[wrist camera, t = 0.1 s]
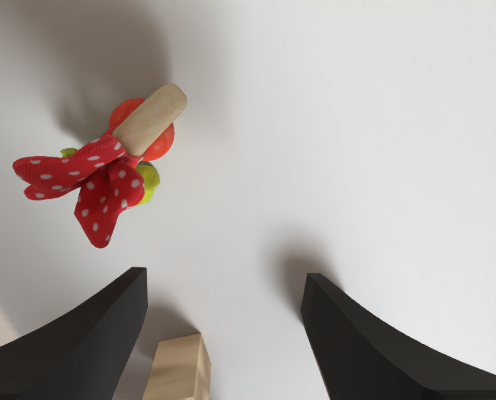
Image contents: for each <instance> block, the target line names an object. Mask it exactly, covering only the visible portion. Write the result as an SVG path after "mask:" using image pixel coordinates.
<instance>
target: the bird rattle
mask: <svg viewBox="0 0 496 400" xmlns="http://www.w3.org/2000/svg"><path fill="white" fill-rule="evenodd" d="M186 104H187V97H186V95H185V94H184V93H183V91H182V90H181V89H180V88H179V87H178V86H177V85H175V84H173V83H167V84H165V85H163V86H162V87H160V88H159V89H158V90H157V91H156V92H154V93H153V94H152V95H151V96H150V97H149V98H147V99H142V98H135V99H130V100H127V101H125V102H123V103H122V104H120V105H119V106H118V107H117V108H116V109H115V110H114V111H113V113H112V115H111V118H110V122H109V130H107V131H106V132H105V133H104V134H103V135H102V137H101V138H98V139H95V140H93V141H91V142H89V143H88V144H86V145H85V146H83V147H82V148H81V149H79V150H77V149H75V148H68V149H63V150H61V153H62V155H63V157H62V158H59V157H46V156H33V157H25V158H20V159H18V160H16V161H15V162H13V169H14V171H15V173H16V175H17V176H18V177H19V178H21V179H22V180H24V181H26V182H28V183H29V184H31V185H30V186H29V187H27V188H26V189H25V190H24V194H25V195H26V197H27V198H28V199H31V200H45V199H53V198H58V197H61V196H63V195H65V194H67V193H69V192H71V191H73V190H75V189H77V188H79V187H81V190H80V193H79V196H78V201H77V204H76V208H75V211H74V215H75V216H76V218H77V220H78V221H79V223H80V224H81V226H82V228H83V230H84V232H85V234H86V235H87V237H88V239H89V240H90V242H91V244H92V245H94V246H95V247H97V248H104V247H106V246H107V245H108V244H109V241H110V239H111V235H112V233H113V230H114V227H115V225H116V221H117V218H118V215H119V214H120V213H121V212H122V211H124V210H126V209H129V208H132V207H134V206H137V205H141V204H143V203H146V202H148V201H149V200H150V199H151V197H152V194H153V191H154V189H155V188H156V187H157V186H158V185H159V183H160V178H159V175H158V173H157V172H156V170H155V169H154V168H153V167H152V166H149V165H138V163H139V162H140V161H151V160H155V159H158V158H160V157H162V156H163V155H164V154H165V153H167V151H168V150H169V149H170V147H171V145H172V143H173V140H174V126H173V121H174V120H175V119H176V118H177V117H178V115H179V114H180V113H181V112H182V111H183V109H184V108H185V107H186Z"/></svg>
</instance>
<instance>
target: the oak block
mask: <svg viewBox="0 0 496 400" xmlns="http://www.w3.org/2000/svg"><path fill="white" fill-rule="evenodd" d="M210 372H211V363H210V359H209V356H208V353H207V350H206V347H205V344H204V341H203V338H202V335H201V333H198V334H194V335H189V336H184V337H180V338H175V339H170V340H165V341H161V342H159V344H158V347H157V351H156V354H155V357H154V361H153V364H152V368H151V371H150V375H149V378H148V381H147V385H146V388H145V392H144V395H143V399H142V400H209V388H210Z"/></svg>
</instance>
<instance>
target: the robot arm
mask: <svg viewBox="0 0 496 400" xmlns="http://www.w3.org/2000/svg"><path fill="white" fill-rule="evenodd" d="M147 308H148V297H147V268H144V267H132V268H130V269H129V270H127V271H126V272H125V273H123V274H122V275H121V276H119V277H118V278H117V279H115V280H114V281H113V282H112V283H110V284H109V285H107V286H106V287H105V288H103V289H102V290H101V291H99V292H98V293H97V294H95V295H94V296H92V297H91V298H89V299H88V300H86V301H85V302H83V303H82V304H80V305H79V306H77V307H76V308H74V309H73V310H71V311H69V312H68V313H66V314H64V315H63V316H61V317H59V318H57V319H56V320H54V321H52V322H50V323H48V324H47V325H45V326H43V327H41V328H39V329H37V330H35V331H33V332H31V333H29V334H26V335H24V336H22V337H20V338H18V339H16V340H14V341H12V342H10V343H8V344H5V345H3V346H1V347H0V400H112V397H113V394H114V391H115V389H116V386H117V384H118V381H119V379H120V377H121V374H122V372H123V370H124V367H125V365H126V363H127V361H128V358H129V356H130V354H131V351H132V349H133V347H134V345H135V342H136V340H137V338H138V335H139V333H140V331H141V328H142V325H143V322H144V318H145V315H146V311H147ZM301 313H302V317H303V321H304V325H305V329H306V333H307V335H308V338H309V341H310V343H311V346H312V349H313V351H314V354H315V357H316V359H317V362H318V364H319V367H320V370H321V372H322V375H323V377H324V380H325V383H326V386H327V389H328V392H329V396H330V399H331V400H496V375H494V374H492V373H489V372H486V371H484V370H481V369H479V368H476V367H474V366H471V365H468V364H466V363H463V362H461V361H459V360H456V359H454V358H452V357H450V356H447V355H445V354H443V353H441V352H438V351H436V350H434V349H432V348H430V347H428V346H426V345H424V344H422V343H420V342H418V341H417V340H415V339H413V338H411V337H409V336H407V335H405V334H404V333H402V332H400V331H398V330H397V329H395V328H394V327H392V326H390V325H389V324H387V323H385V322H384V321H382V320H381V319H379V318H378V317H376V316H375V315H373V314H372V313H371V312H369V311H368V310H366V309H365V308H364V307H362V306H361V305H360V304H358V303H357V302H356V301H354V300H353V299H352V298H350V297H349V296H348V295H347V294H345V293H344V292H343V291H342V290H341V289H339V288H338V287H337V286H336V285H334V284H333V283H332V282H331V281H330V280H328V279H327V278H326V277H324V276H323V275H322V274H320V273H307V278H306V284H305V290H304V295H303V301H302V306H301Z"/></svg>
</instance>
